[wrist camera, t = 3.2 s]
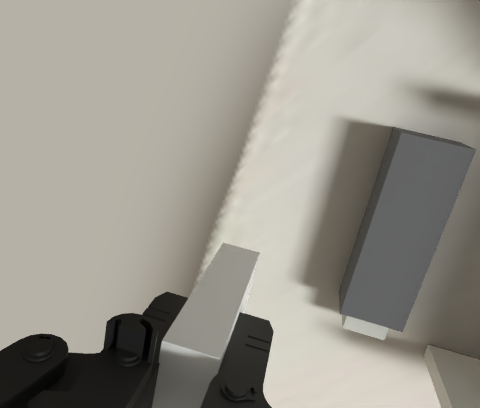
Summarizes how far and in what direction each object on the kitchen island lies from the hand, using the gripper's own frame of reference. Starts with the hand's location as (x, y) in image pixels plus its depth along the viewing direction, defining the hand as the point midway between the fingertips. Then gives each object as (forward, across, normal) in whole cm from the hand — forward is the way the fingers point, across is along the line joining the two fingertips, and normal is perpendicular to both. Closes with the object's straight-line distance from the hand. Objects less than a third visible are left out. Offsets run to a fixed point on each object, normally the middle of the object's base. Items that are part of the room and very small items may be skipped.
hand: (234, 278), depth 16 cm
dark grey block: (+13, +8, 0) cm, 15 cm away
